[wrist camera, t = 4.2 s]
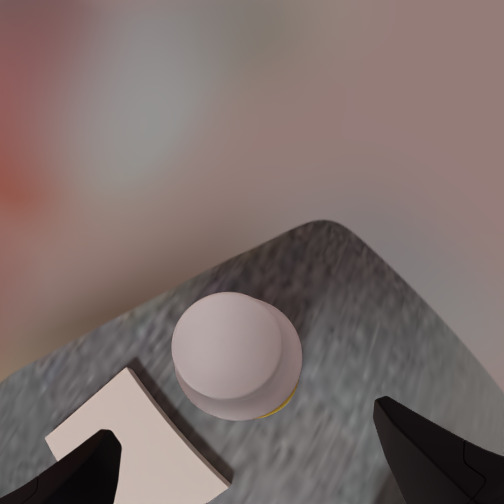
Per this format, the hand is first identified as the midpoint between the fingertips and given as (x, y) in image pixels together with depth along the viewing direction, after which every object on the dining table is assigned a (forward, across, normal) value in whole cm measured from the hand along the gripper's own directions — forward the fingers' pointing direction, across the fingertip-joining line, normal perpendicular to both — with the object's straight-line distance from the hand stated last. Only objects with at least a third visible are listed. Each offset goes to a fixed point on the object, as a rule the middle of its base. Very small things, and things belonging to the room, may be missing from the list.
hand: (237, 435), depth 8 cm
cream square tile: (+5, +10, +9) cm, 15 cm away
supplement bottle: (+10, 0, +5) cm, 11 cm away
